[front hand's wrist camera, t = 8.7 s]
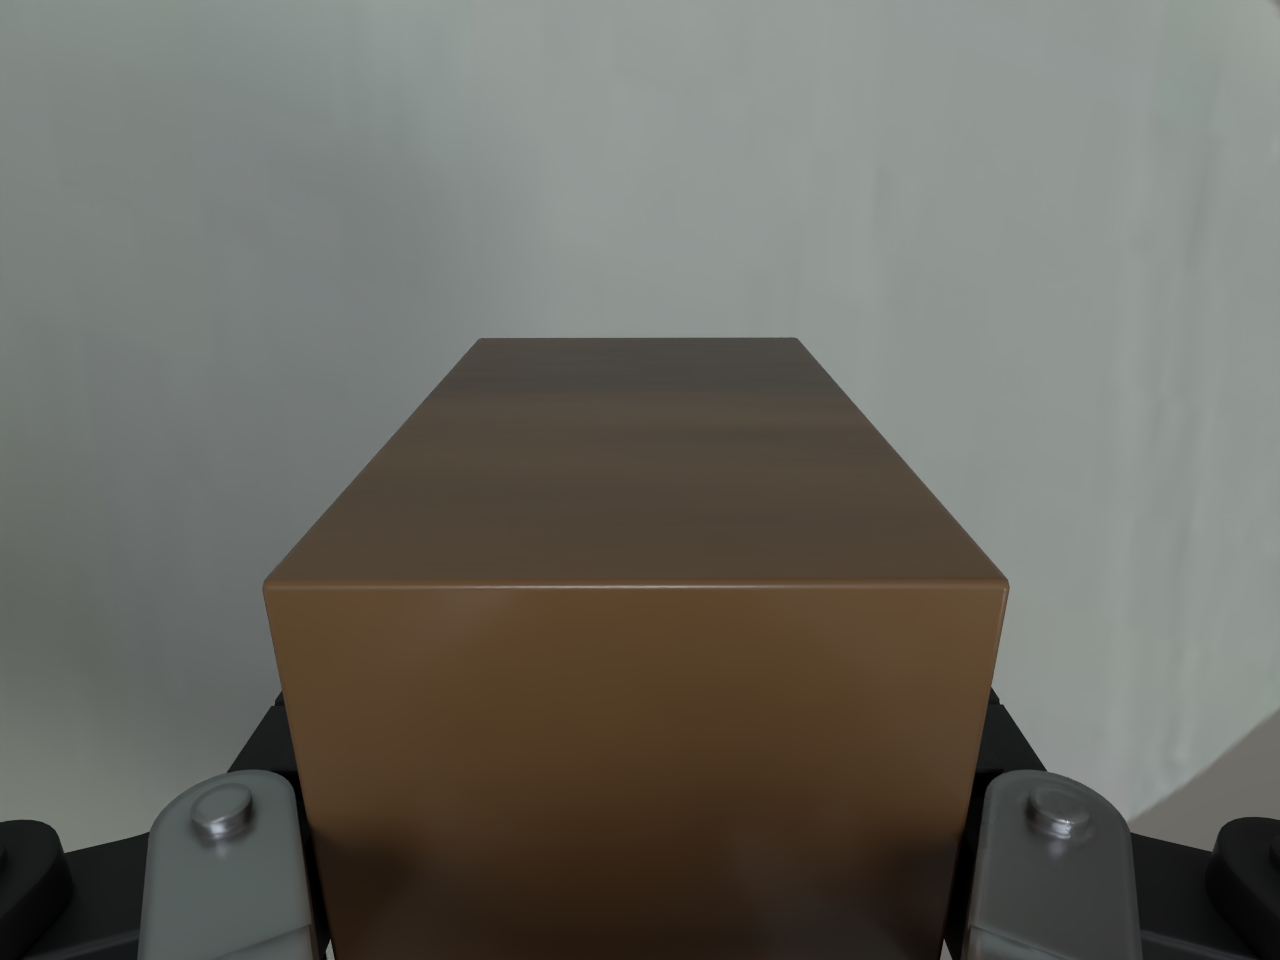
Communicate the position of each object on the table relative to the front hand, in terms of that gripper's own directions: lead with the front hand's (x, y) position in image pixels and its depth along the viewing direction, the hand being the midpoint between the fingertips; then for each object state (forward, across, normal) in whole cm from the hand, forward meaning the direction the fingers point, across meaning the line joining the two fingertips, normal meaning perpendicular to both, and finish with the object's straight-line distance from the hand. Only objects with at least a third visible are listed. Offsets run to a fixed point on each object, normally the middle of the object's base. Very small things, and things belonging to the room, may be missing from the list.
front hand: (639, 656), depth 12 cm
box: (+5, 0, -7) cm, 9 cm away
